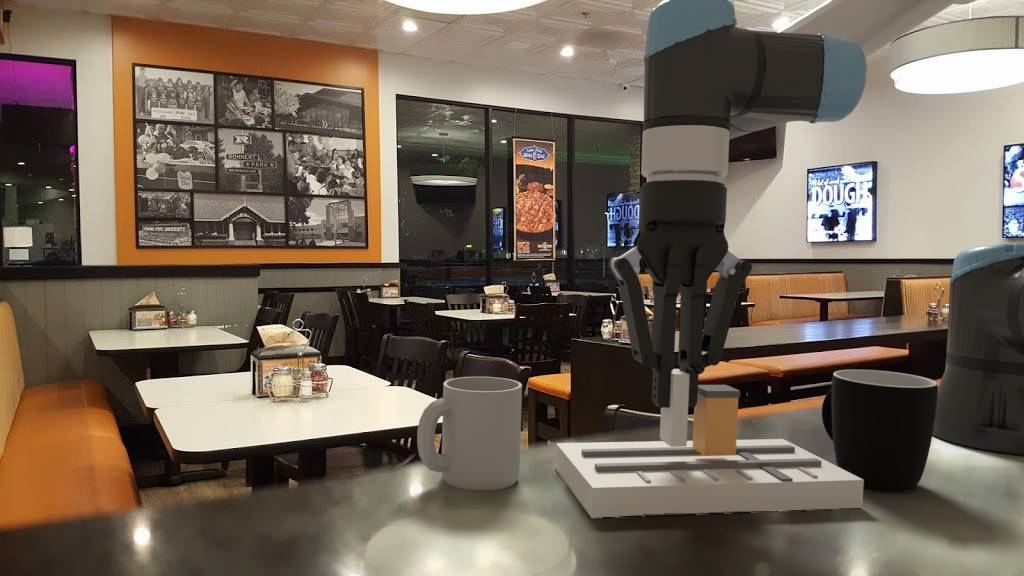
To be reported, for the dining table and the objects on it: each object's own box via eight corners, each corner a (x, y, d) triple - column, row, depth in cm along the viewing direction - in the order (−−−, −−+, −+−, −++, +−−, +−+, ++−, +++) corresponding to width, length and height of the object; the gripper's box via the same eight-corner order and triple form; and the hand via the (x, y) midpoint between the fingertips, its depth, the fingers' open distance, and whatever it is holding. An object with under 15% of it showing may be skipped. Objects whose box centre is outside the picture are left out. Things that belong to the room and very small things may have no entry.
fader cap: (723, 446, 69) (726, 384, 68) (737, 455, 66) (740, 390, 66) (691, 447, 68) (693, 385, 68) (703, 456, 66) (706, 391, 65)
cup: (533, 485, 67) (536, 388, 66) (433, 502, 61) (435, 397, 61) (495, 463, 73) (497, 374, 72) (401, 477, 68) (402, 381, 67)
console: (781, 462, 76) (783, 434, 75) (862, 508, 63) (864, 474, 63) (555, 468, 72) (556, 438, 71) (591, 518, 59) (592, 481, 59)
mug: (954, 494, 67) (961, 385, 67) (876, 502, 65) (883, 388, 64) (856, 456, 79) (861, 363, 78) (786, 462, 76) (791, 365, 75)
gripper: (732, 186, 70) (721, 430, 71) (600, 181, 68) (592, 432, 69) (773, 180, 62) (760, 452, 64) (626, 174, 60) (616, 456, 62)
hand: (672, 442), depth 66 cm, fingers closed
